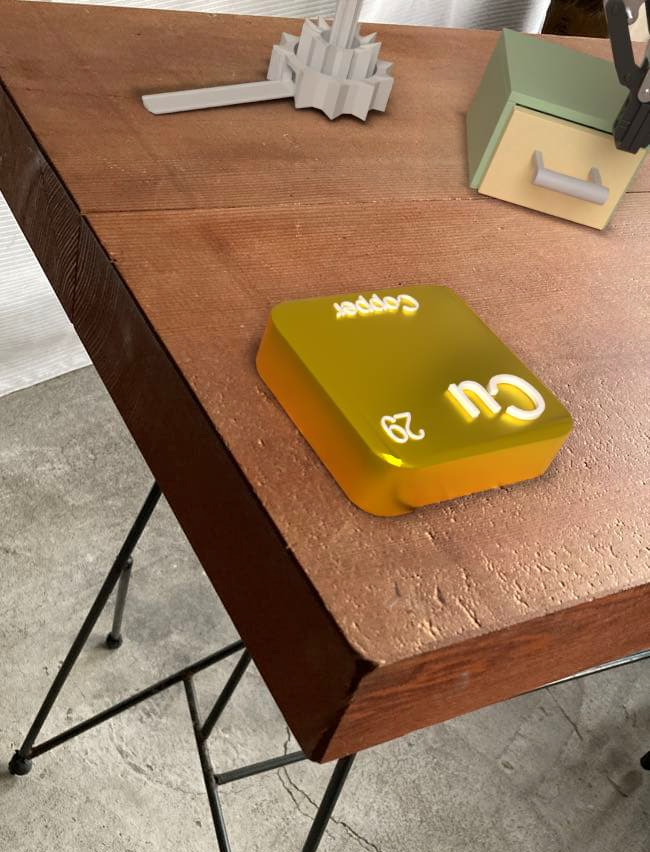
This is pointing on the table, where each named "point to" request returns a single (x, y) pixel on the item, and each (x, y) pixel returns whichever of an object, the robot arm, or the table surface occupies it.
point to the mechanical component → (307, 72)
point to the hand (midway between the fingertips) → (624, 147)
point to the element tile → (408, 396)
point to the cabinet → (540, 93)
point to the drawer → (558, 167)
